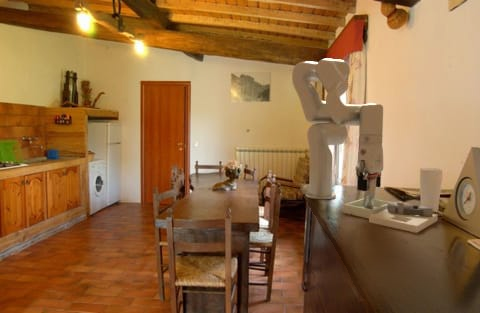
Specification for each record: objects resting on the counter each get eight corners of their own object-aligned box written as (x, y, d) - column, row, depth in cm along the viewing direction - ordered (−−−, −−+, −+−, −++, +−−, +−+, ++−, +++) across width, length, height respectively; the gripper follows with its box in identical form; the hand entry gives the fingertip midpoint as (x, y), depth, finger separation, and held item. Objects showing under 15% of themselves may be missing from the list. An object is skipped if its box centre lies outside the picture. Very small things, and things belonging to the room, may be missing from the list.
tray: (343, 212, 111) (343, 204, 111) (365, 205, 122) (365, 197, 121) (372, 219, 104) (372, 210, 103) (393, 210, 114) (393, 202, 113)
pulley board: (369, 222, 101) (369, 206, 100) (392, 212, 112) (393, 197, 111) (416, 232, 90) (417, 214, 90) (437, 220, 101) (438, 204, 101)
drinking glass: (443, 213, 109) (446, 170, 108) (422, 213, 110) (424, 170, 109) (435, 208, 116) (437, 167, 114) (415, 208, 117) (417, 167, 115)
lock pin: (371, 212, 109) (374, 174, 108) (359, 208, 113) (361, 172, 111) (377, 209, 112) (380, 173, 111) (365, 206, 116) (368, 171, 114)
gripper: (368, 141, 102) (367, 193, 103) (392, 139, 113) (390, 186, 115) (347, 140, 107) (346, 190, 109) (372, 138, 119) (370, 184, 120)
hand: (369, 188), depth 112 cm, fingers open, 9 cm apart
